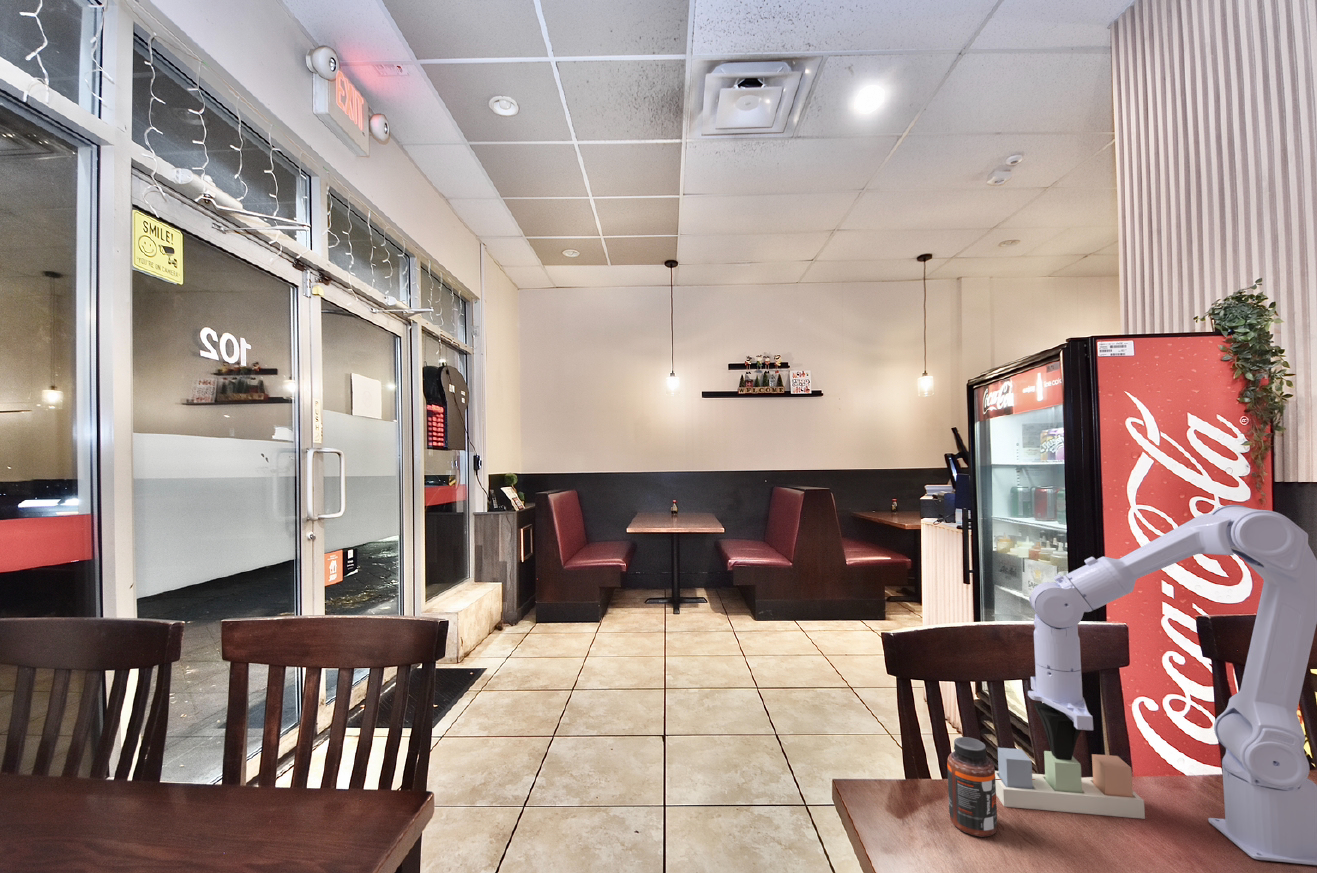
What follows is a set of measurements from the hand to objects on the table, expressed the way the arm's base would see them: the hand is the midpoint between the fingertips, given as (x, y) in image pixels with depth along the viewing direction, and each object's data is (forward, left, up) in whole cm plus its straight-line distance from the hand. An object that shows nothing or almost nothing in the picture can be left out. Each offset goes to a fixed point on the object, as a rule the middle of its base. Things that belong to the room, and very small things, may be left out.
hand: (1061, 757), depth 86 cm
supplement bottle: (+15, +8, -7) cm, 18 cm away
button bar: (0, 0, -6) cm, 6 cm away
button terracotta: (-7, 0, -4) cm, 8 cm away
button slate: (+6, 0, -5) cm, 8 cm away
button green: (0, 0, -5) cm, 5 cm away
